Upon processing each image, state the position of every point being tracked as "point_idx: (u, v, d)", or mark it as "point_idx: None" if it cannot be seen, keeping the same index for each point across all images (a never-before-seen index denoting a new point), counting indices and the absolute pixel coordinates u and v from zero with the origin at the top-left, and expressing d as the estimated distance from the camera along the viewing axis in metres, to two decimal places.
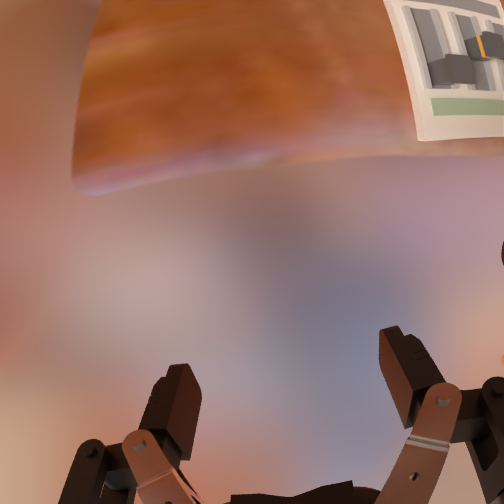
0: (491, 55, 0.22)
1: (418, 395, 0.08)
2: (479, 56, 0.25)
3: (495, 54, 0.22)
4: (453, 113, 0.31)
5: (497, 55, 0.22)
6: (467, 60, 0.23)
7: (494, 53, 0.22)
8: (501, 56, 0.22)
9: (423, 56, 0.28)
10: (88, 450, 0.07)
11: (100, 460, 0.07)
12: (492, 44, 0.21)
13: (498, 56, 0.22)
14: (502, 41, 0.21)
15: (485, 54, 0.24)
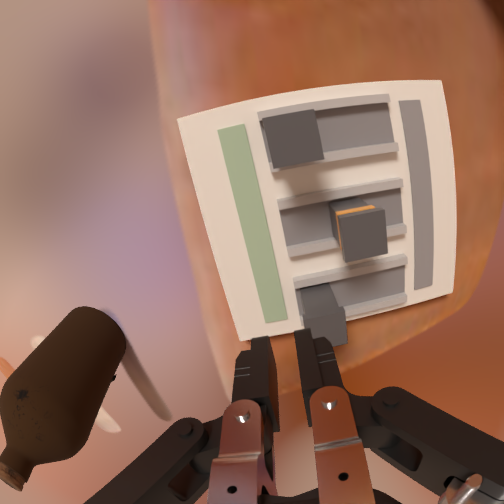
0: (341, 217, 0.22)
1: (310, 395, 0.09)
2: (336, 210, 0.25)
3: (345, 227, 0.22)
4: (229, 168, 0.27)
5: (345, 232, 0.22)
6: (313, 151, 0.20)
7: (347, 225, 0.22)
8: (346, 243, 0.22)
9: (309, 108, 0.24)
10: (184, 430, 0.08)
11: (201, 439, 0.08)
12: (363, 223, 0.22)
13: (344, 234, 0.22)
14: (376, 251, 0.23)
15: (342, 214, 0.23)
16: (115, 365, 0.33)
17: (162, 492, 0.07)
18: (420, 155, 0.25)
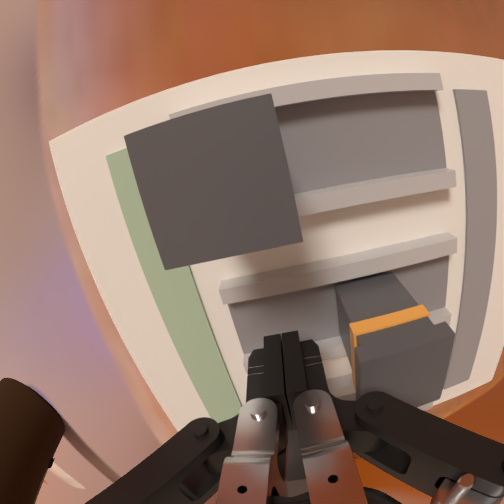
0: (363, 359, 0.09)
1: (294, 398, 0.09)
2: (351, 315, 0.12)
3: (370, 376, 0.09)
4: (133, 225, 0.14)
5: (367, 384, 0.09)
6: (271, 222, 0.07)
7: (373, 372, 0.09)
8: None
9: (278, 100, 0.11)
10: (199, 430, 0.08)
11: (217, 439, 0.08)
12: (409, 364, 0.09)
13: (364, 388, 0.09)
14: (421, 400, 0.10)
15: (363, 334, 0.11)
16: (49, 452, 0.20)
17: (172, 492, 0.07)
18: (485, 192, 0.13)
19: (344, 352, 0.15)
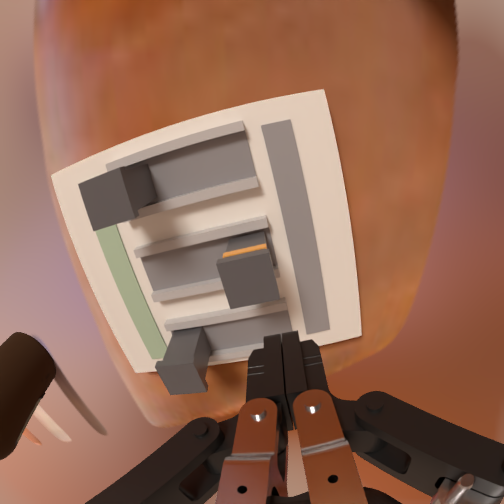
0: (218, 263, 0.21)
1: (294, 398, 0.09)
2: (227, 250, 0.23)
3: (224, 273, 0.21)
4: None
5: (224, 278, 0.21)
6: (124, 212, 0.19)
7: (225, 271, 0.21)
8: (227, 289, 0.21)
9: (151, 154, 0.23)
10: (199, 430, 0.08)
11: (217, 439, 0.08)
12: (245, 268, 0.21)
13: (223, 281, 0.21)
14: (265, 297, 0.21)
15: (228, 256, 0.22)
16: (42, 385, 0.32)
17: (172, 492, 0.07)
18: (293, 187, 0.25)
19: (206, 290, 0.27)
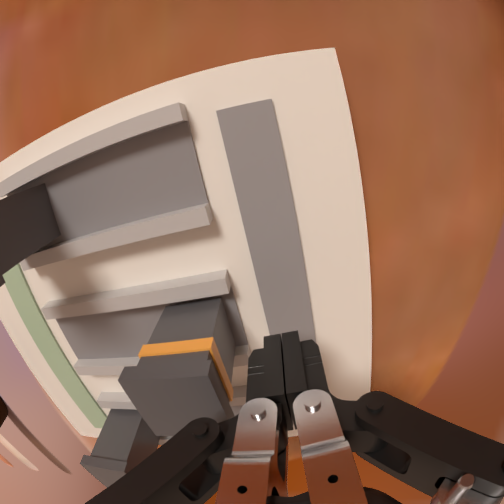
0: (123, 377, 0.10)
1: (294, 398, 0.09)
2: (153, 337, 0.13)
3: (134, 394, 0.10)
4: None
5: (136, 400, 0.10)
6: None
7: (136, 391, 0.10)
8: (145, 414, 0.11)
9: (43, 168, 0.12)
10: (199, 430, 0.08)
11: (217, 439, 0.08)
12: (167, 393, 0.10)
13: (136, 403, 0.10)
14: None
15: (146, 357, 0.11)
16: None
17: (172, 492, 0.07)
18: (275, 223, 0.14)
19: None
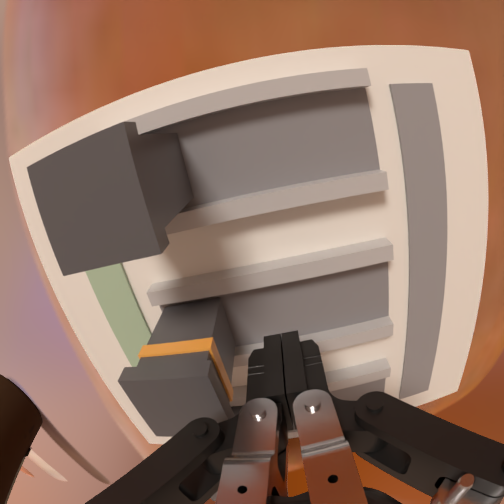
0: (123, 378, 0.10)
1: (294, 398, 0.09)
2: (152, 337, 0.13)
3: (134, 395, 0.10)
4: None
5: (136, 401, 0.10)
6: (132, 237, 0.08)
7: (136, 392, 0.10)
8: (145, 414, 0.11)
9: (188, 112, 0.11)
10: (199, 430, 0.08)
11: (217, 438, 0.08)
12: (167, 393, 0.10)
13: (136, 404, 0.10)
14: None
15: (146, 357, 0.12)
16: (26, 441, 0.21)
17: (172, 492, 0.07)
18: (431, 194, 0.13)
19: None
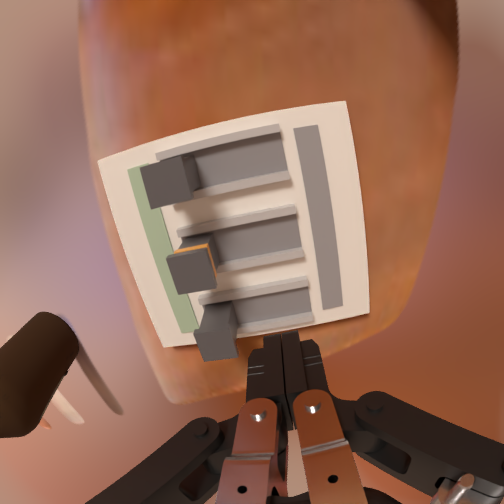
0: (168, 257, 0.26)
1: (294, 398, 0.09)
2: (179, 248, 0.29)
3: (172, 266, 0.26)
4: (138, 201, 0.30)
5: (172, 270, 0.26)
6: (182, 193, 0.24)
7: (173, 264, 0.26)
8: (175, 279, 0.26)
9: (199, 146, 0.27)
10: (199, 430, 0.08)
11: (217, 439, 0.08)
12: (187, 262, 0.26)
13: (172, 272, 0.26)
14: (204, 286, 0.27)
15: (177, 253, 0.27)
16: (67, 362, 0.36)
17: (172, 492, 0.07)
18: (317, 180, 0.29)
19: (239, 266, 0.32)
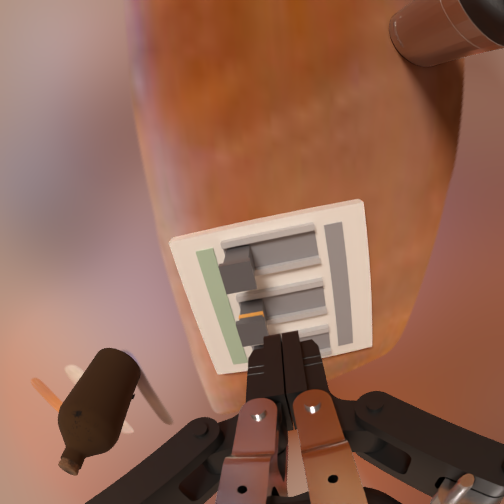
0: (237, 324, 0.37)
1: (294, 398, 0.09)
2: (241, 312, 0.40)
3: (240, 329, 0.37)
4: (205, 275, 0.42)
5: (239, 331, 0.38)
6: (250, 285, 0.35)
7: (240, 328, 0.37)
8: (241, 337, 0.38)
9: (255, 240, 0.39)
10: (199, 430, 0.08)
11: (217, 439, 0.08)
12: (251, 327, 0.37)
13: (239, 333, 0.38)
14: (262, 341, 0.38)
15: (241, 318, 0.39)
16: (134, 388, 0.48)
17: (172, 492, 0.07)
18: (339, 261, 0.40)
19: (281, 321, 0.43)
